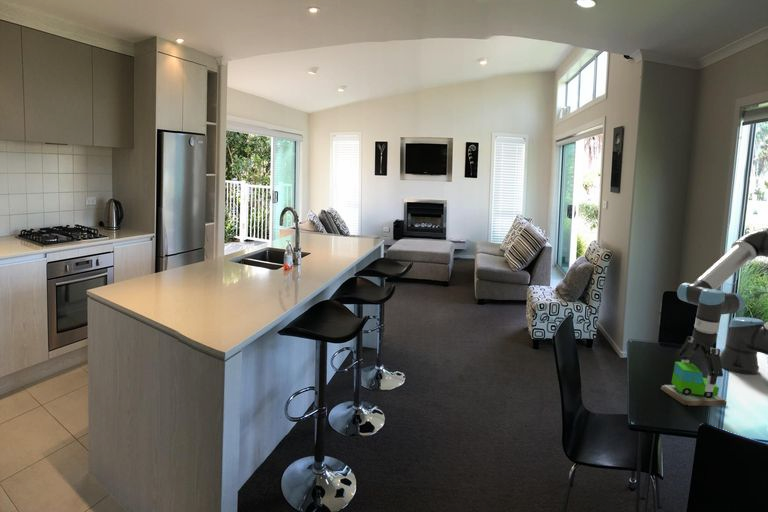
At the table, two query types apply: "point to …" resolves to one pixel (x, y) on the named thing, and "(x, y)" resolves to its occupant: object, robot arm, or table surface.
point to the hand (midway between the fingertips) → (695, 383)
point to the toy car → (691, 380)
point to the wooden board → (692, 397)
